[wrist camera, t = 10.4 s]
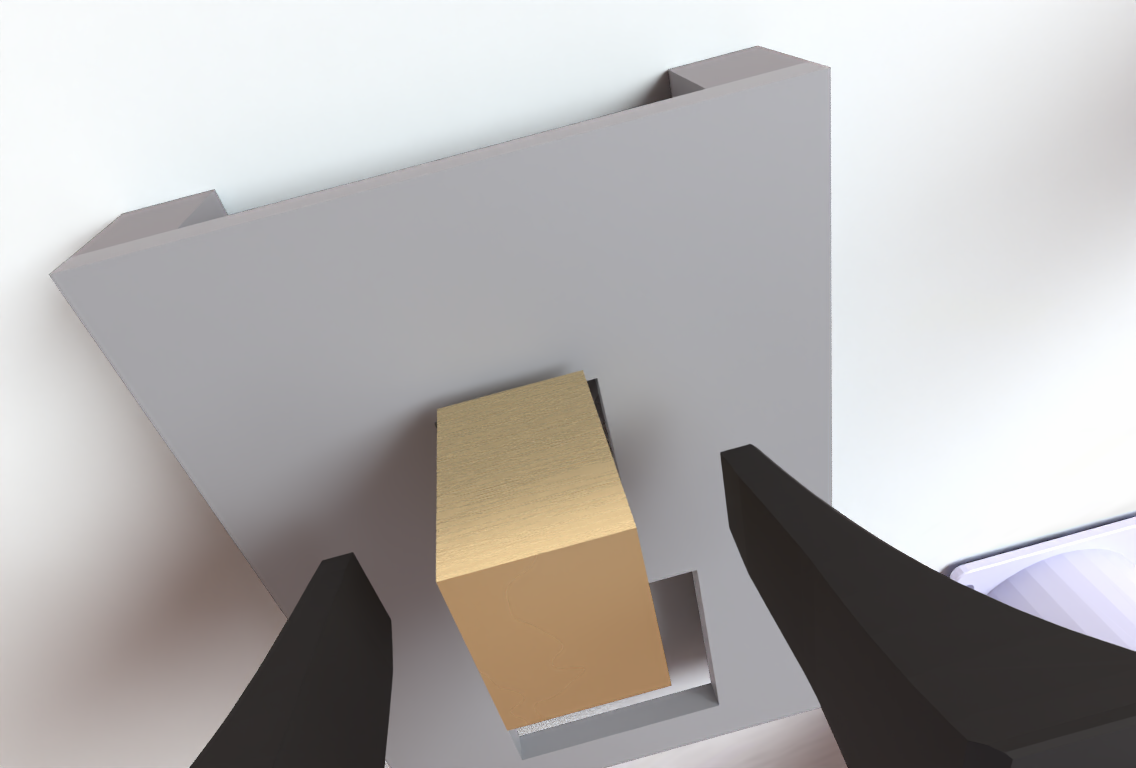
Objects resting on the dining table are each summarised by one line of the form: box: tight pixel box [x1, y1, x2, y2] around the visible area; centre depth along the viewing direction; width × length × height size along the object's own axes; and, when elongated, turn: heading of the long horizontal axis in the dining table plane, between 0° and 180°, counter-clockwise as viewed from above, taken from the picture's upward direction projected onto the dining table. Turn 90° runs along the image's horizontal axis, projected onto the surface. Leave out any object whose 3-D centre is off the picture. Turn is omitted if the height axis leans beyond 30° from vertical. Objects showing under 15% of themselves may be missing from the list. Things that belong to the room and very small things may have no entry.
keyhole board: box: [49, 46, 832, 768], centre depth 19 cm, size 20×14×3 cm
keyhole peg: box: [436, 370, 671, 731], centre depth 15 cm, size 5×5×8 cm
